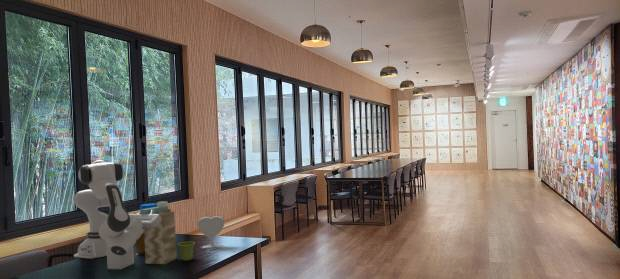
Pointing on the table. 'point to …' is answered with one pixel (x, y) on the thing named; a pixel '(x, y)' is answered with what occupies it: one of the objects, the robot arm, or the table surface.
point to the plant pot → (186, 250)
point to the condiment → (140, 245)
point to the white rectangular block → (119, 259)
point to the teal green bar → (156, 208)
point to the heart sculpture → (211, 228)
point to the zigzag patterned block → (161, 240)
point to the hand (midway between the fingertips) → (148, 210)
